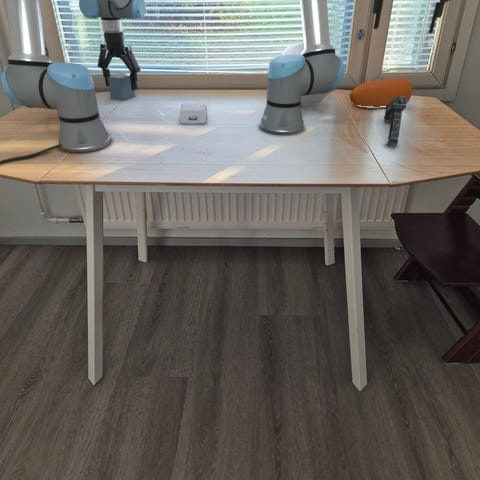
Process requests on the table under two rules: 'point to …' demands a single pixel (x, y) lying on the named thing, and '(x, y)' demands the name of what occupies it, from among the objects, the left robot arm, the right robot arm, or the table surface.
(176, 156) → the table surface
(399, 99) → the futuristic handgun
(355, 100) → the clog
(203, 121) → the charger
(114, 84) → the block
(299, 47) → the decorative sphere
